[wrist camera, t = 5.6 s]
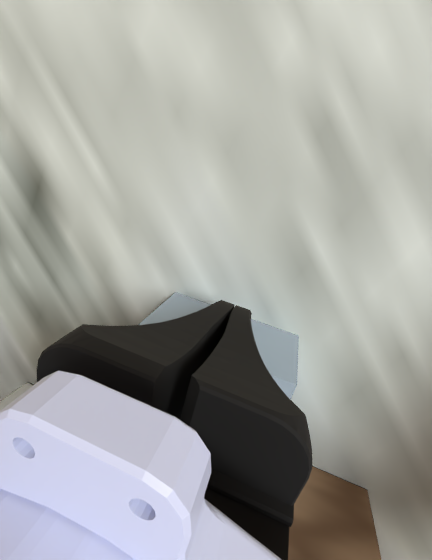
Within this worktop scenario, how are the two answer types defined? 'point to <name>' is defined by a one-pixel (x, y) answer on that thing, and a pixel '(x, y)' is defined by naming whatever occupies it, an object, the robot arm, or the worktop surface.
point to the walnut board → (332, 521)
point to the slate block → (270, 341)
